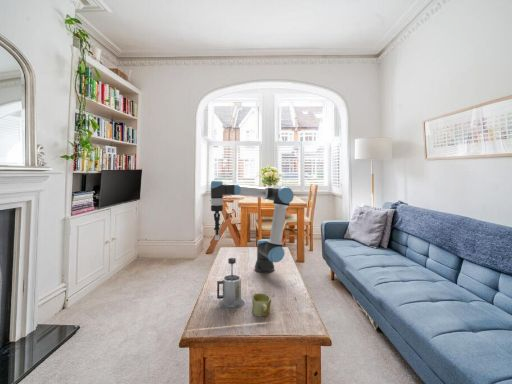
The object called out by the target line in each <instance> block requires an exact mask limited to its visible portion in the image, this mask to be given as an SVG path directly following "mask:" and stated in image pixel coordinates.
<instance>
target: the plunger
mask: <svg viewBox="0 0 512 384" xmlns="http://www.w3.org/2000/svg"><path fill="white" fill-rule="evenodd" d="M236 259H237V258H236V257H229V258H228V262H227V263H228V264H230V275H231V280H227V281H236V280H234V279H233V275H234V270H233V269H234V266H233V265H234V264H237V261H236Z"/></svg>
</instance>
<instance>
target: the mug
mask: <svg viewBox="0 0 512 384" xmlns="http://www.w3.org/2000/svg"><path fill="white" fill-rule="evenodd" d="M271 299H272V298H271V296H269V295H268V294H266V293H262V292H261V293H256V294H255V293H254V295H253V296H252V309H251V310H252V313H253V315H255V316H257V317H258V316H260V317H264V316H267V315H268V314H269V313H270V309H271V301H272V300H271Z"/></svg>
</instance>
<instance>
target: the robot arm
mask: <svg viewBox="0 0 512 384" xmlns="http://www.w3.org/2000/svg"><path fill="white" fill-rule="evenodd" d="M224 196H240V197H241V196H242V197H251V198H262V199H263V200H269V201H272V204H273V206H274V209H273V215H272V221H271V228H270V232H269V233H270V235H269V238H265V239H264V238H263V239H258V240H257V242H256V261H255V264H254V270H255V271H256V272H259V273H264V272H266V273H271V271H272V272H274V271H275V265H274V263H279V262H281V261H282V260H283V259H284V257H285V253H286V252H285V250H284V249H283V247H284V243H283V241H282V238H283V232H284V225H285V222H286V221H285V219H286V213H287V208H289V207H290V203H291V202H293V200H294V196H295V195H294V191H293V190H292V188H290V187H289V186H283V185H281V186H280V185H276V186H275V185H274V186H263V187H261V186H251V185H241V184H239V183H224V182H223V181H222V180H212V181H210V200H209V201H210V205H211V206H210V211H211V212H214V213H213V218H214V228H213V230H214V241H220V226H221V224H220V220H221V213H220V212H222V211H224V206H223V204H224V201H223V200H224ZM273 270H274V271H273Z"/></svg>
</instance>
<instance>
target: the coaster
mask: <svg viewBox="0 0 512 384" xmlns="http://www.w3.org/2000/svg"><path fill="white" fill-rule="evenodd" d="M218 306H219V307H220V308H221V309H224V310H228V311H229V310H231V311H235V310H238V309H241V308H243V307H244V306H245V301H244V299H242V298H241V304H240V305H239V306H237V307H234V308H229V307H225V306H224V305H223V299H221V300H220V301H219V303H218Z"/></svg>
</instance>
